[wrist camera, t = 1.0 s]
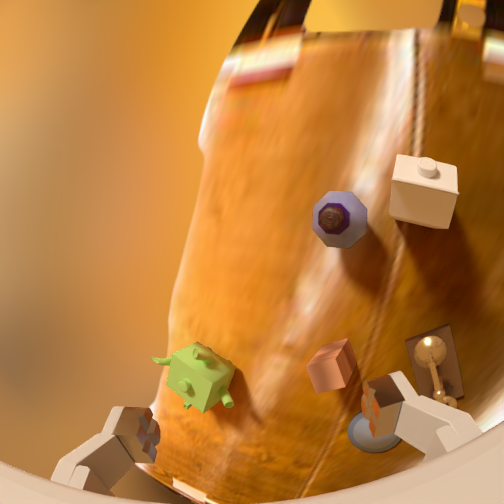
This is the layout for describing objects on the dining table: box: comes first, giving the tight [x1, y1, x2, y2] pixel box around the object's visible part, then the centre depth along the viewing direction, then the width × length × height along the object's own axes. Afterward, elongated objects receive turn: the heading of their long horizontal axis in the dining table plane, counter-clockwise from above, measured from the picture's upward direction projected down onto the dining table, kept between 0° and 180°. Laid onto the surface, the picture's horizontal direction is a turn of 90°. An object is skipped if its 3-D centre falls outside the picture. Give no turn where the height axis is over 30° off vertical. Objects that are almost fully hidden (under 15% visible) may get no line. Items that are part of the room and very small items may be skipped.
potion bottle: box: [312, 191, 367, 249], centre depth 42 cm, size 9×9×12 cm
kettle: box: [152, 342, 236, 413], centre depth 59 cm, size 15×14×11 cm
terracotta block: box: [306, 338, 357, 393], centre depth 46 cm, size 5×5×9 cm
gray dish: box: [348, 411, 401, 452], centre depth 46 cm, size 11×11×1 cm
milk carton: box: [389, 154, 459, 229], centre depth 33 cm, size 7×7×19 cm
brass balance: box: [405, 323, 464, 409], centre depth 36 cm, size 8×18×11 cm, turn 22°
